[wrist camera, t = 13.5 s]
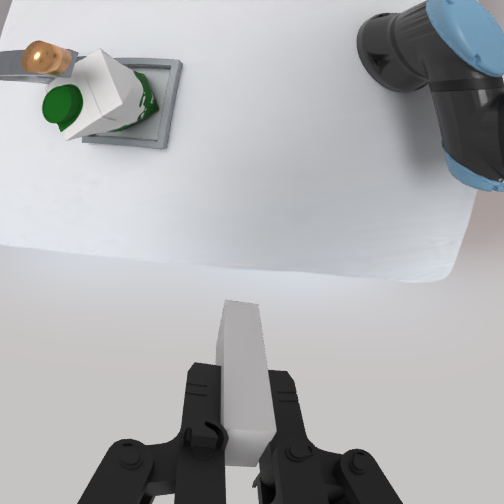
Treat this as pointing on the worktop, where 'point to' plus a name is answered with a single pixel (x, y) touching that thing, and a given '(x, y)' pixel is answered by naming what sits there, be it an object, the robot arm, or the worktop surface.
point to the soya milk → (98, 97)
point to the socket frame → (166, 112)
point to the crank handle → (38, 61)
